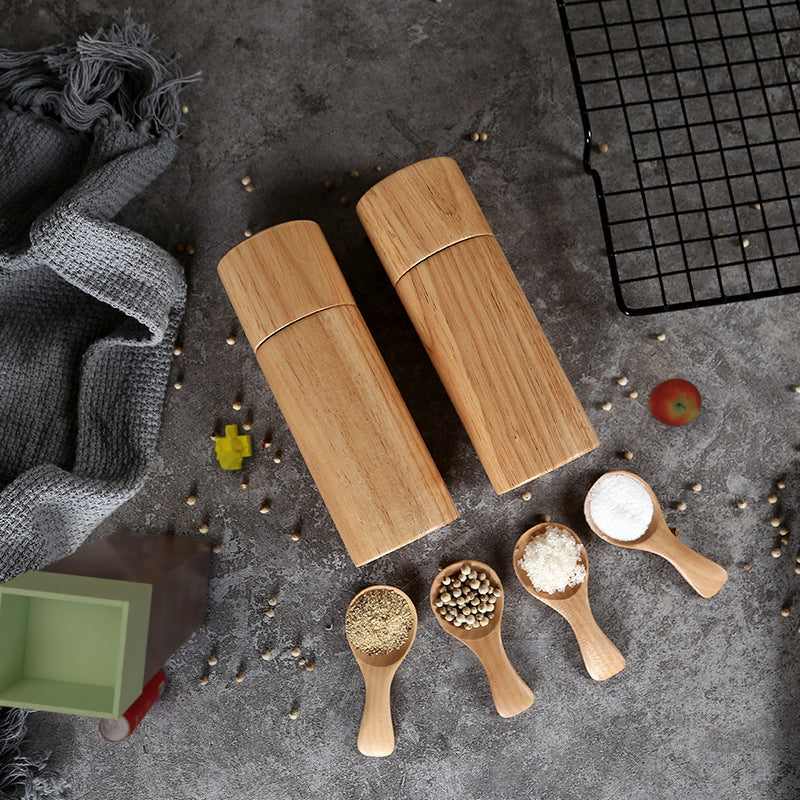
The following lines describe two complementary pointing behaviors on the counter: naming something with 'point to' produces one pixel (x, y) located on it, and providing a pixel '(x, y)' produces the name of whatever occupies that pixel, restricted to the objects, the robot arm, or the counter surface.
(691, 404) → the apple
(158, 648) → the stand
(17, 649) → the bin
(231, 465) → the yellow cross puzzle piece
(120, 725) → the beverage can
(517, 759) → the counter surface
